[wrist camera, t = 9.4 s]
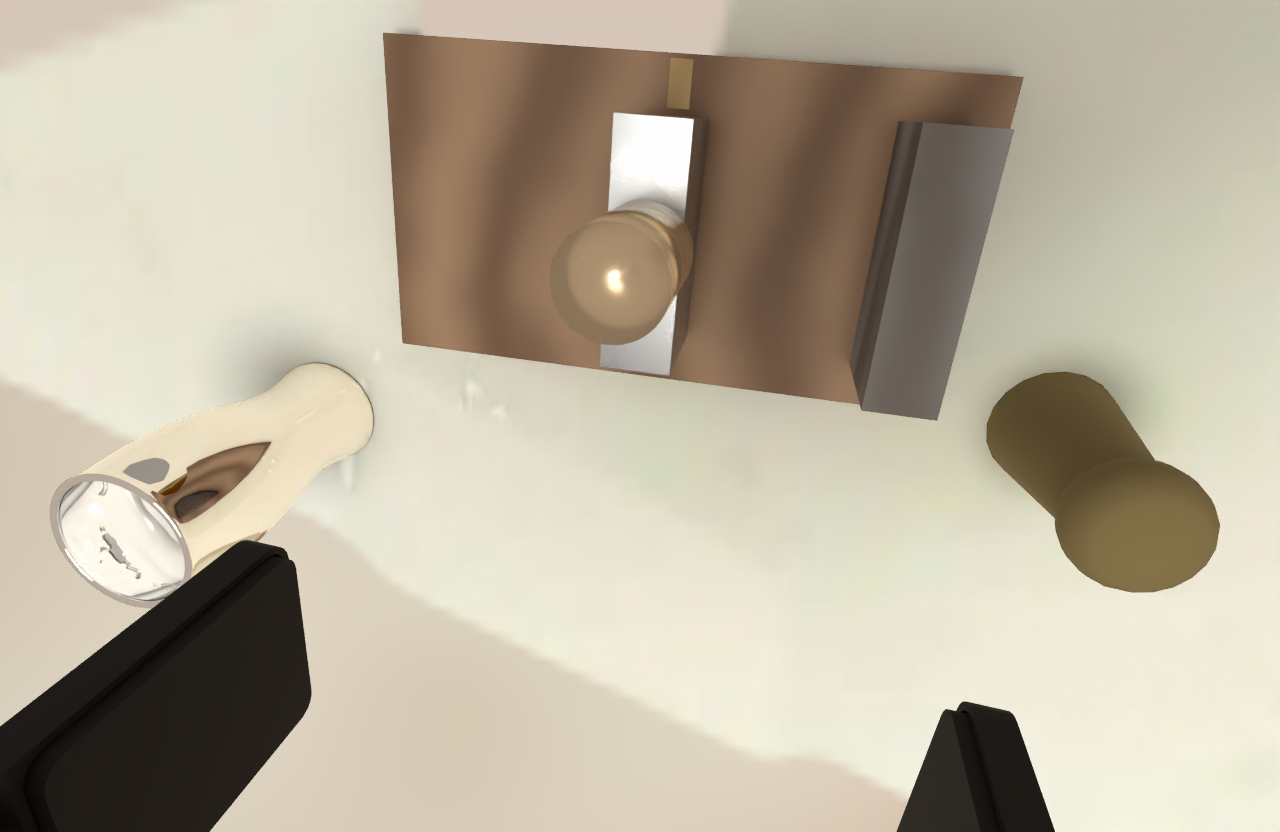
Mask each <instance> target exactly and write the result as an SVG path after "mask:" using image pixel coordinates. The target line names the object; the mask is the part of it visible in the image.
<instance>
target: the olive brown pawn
mask: <svg viewBox="0 0 1280 832" xmlns="http://www.w3.org/2000/svg"><path fill="white" fill-rule="evenodd" d="M987 444H988V446H989V449H990V452H991V454H992V457H993V458H994V459H995V460H996V461H997V462H998V464H999V465H1000V466H1001V467H1002V468H1003V469H1004V470H1005V471H1006V472H1007V473H1008V474H1009V475H1010V476H1011V477H1012V478H1013V479H1014V480H1015V481H1016V482H1017V483H1018V484H1020V485H1021V486H1022V487H1023V488H1024V489H1025V490H1026V491H1027V492H1028V493H1029V494H1030V495H1031V496H1032V497H1033V498H1034V499H1035V500H1036V501H1037V502H1038V503H1039V504H1040V505H1042V506H1043V507H1044V508H1045V509H1046V510H1047V511H1048V512H1049V513H1050V514H1051V515H1052V516H1053V517H1054V518H1055V528H1056V533H1057V536H1058V539H1059V542H1060V545H1061V548H1062V550H1063V551H1064V553H1065V555H1066V556H1067V557H1068V559H1069V560H1070V561H1071V562H1072V563H1073V564H1074V565H1075V566H1076V568H1077V569H1078V570H1079V571H1080V572H1082V573H1083V574H1084V575H1086V576H1087V577H1089V578H1091V579H1092V580H1094V581H1096V582H1098V583H1100V584H1101V585H1103V586H1106V587H1110V588H1114V589H1119V590H1123V591H1128V592H1156V591H1160V590H1164V589H1168V588H1172V587H1175V586H1177V585H1179V584H1181V583H1183V582H1185V581H1187V580H1189V579H1191V578H1192V577H1193V576H1195V575H1196V574H1197V573H1198V572H1199V571H1200V570H1201V569H1202V568H1203V567H1205V566H1206V565H1207V563H1208V561H1209V560H1210V558H1211V556H1212V555H1213V553H1214V551H1215V550H1216V546H1217V540H1218V534H1219V528H1220V523H1219V520H1218V516H1217V512H1216V509H1215V506H1214V504H1213V502H1212V500H1211V498H1210V497H1209V496H1208V494H1207V493H1206V492H1205V491H1204V490H1203V488H1202V487H1201V486H1200V485H1199V484H1198V483H1197V482H1196V481H1195V480H1194V479H1193V478H1191V477H1190V476H1189V475H1187V474H1185V473H1183V472H1182V471H1180V470H1178V469H1176V468H1175V467H1173V466H1171V465H1168V464H1165V463H1163V462H1160V461H1155V459H1154V458H1153V457H1152V455H1151V454H1150V452H1149V451H1148V449H1147V448H1146V446H1145V445H1144V443H1143V442H1142V440H1141V439H1140V437H1139V436H1138V434H1137V433H1136V431H1135V430H1134V428H1133V427H1132V425H1131V424H1130V422H1129V421H1128V419H1127V418H1126V416H1125V415H1124V413H1123V412H1122V410H1121V409H1120V407H1119V406H1118V405H1117V403H1116V402H1115V400H1114V399H1113V398H1112V396H1111V395H1110V394H1109V393H1108V392H1107V390H1106V389H1105V388H1104V387H1103V386H1102V385H1101V384H1099V383H1097V382H1095V381H1094V380H1092V379H1090V378H1088V377H1087V376H1083V375H1078V374H1074V373H1069V372H1057V373H1044V374H1041V375H1038V376H1035V377H1033V378H1030V379H1027V380H1024V381H1022V382H1021V383H1019V384H1018V385H1016V386H1015V387H1014V388H1012V389H1011V390H1009V391H1008V392H1006V393H1005V395H1004V396H1003V397H1002V398H1001V399H1000V401H999V402H998V403H997V404H996V405H995V407H994V408H993V411H992V413H991V416H990V418H989V421H988V423H987Z"/></svg>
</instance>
